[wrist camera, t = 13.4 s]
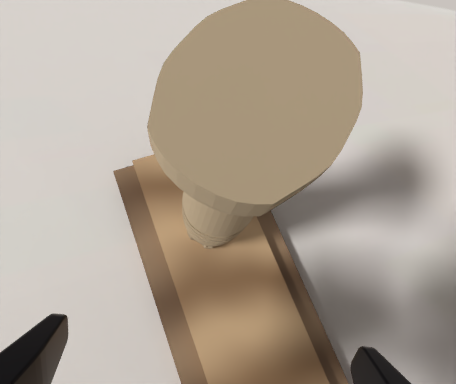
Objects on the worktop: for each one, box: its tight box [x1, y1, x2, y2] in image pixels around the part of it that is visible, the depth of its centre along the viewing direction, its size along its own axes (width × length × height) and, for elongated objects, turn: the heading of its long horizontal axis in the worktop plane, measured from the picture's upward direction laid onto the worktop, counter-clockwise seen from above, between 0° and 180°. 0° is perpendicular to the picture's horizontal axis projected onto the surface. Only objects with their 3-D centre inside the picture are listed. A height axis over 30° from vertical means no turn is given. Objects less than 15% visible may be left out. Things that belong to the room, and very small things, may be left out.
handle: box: [147, 0, 363, 249], centre depth 15 cm, size 5×6×15 cm
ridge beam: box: [113, 154, 349, 384], centre depth 21 cm, size 22×10×2 cm, turn 22°
